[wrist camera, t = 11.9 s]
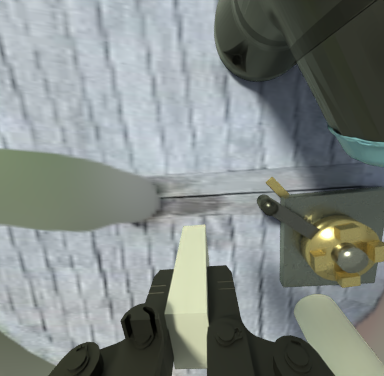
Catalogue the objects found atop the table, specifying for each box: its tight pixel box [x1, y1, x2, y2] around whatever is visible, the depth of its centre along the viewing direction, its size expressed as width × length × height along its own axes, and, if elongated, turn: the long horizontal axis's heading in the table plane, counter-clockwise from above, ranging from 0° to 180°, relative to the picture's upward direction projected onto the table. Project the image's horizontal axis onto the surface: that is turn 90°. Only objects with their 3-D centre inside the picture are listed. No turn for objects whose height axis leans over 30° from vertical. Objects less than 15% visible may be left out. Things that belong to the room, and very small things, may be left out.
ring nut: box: [257, 195, 384, 288], centre depth 33 cm, size 24×12×5 cm, turn 59°
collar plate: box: [266, 177, 384, 287], centre depth 37 cm, size 24×21×2 cm
